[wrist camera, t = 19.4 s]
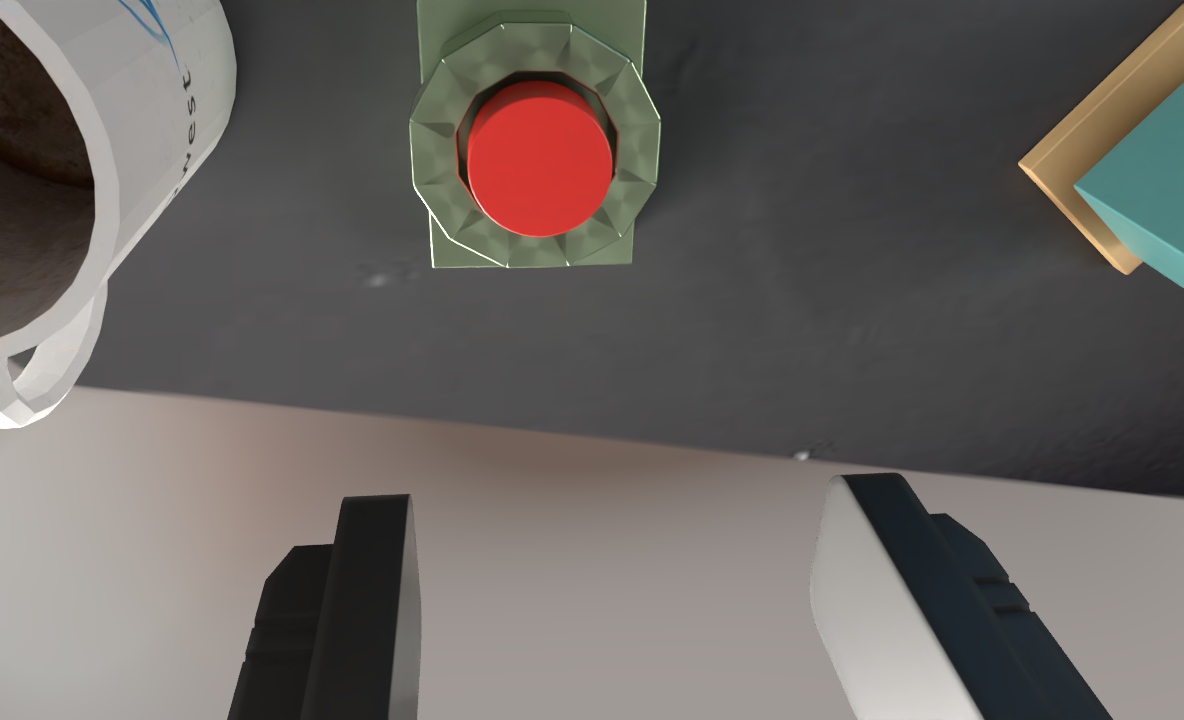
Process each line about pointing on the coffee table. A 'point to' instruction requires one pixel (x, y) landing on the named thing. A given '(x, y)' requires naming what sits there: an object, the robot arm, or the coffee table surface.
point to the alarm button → (538, 159)
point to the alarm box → (516, 54)
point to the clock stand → (1107, 131)
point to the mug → (92, 163)
